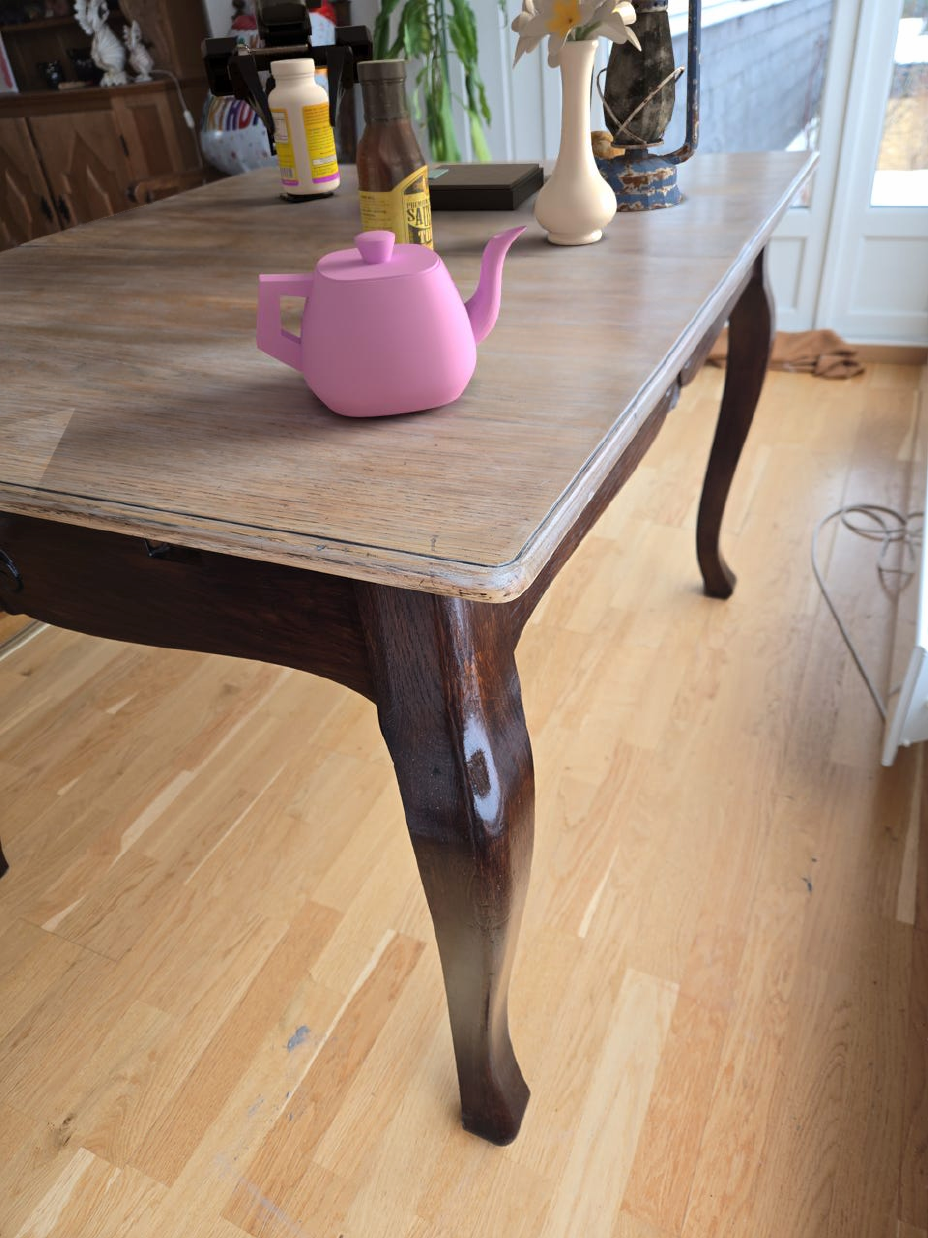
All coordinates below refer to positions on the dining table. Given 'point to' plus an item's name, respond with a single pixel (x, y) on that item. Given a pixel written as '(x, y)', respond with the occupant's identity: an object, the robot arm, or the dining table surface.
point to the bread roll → (604, 145)
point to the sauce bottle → (391, 158)
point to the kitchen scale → (483, 186)
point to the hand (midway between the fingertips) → (302, 127)
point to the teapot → (383, 324)
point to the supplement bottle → (302, 129)
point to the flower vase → (574, 110)
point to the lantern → (648, 108)
